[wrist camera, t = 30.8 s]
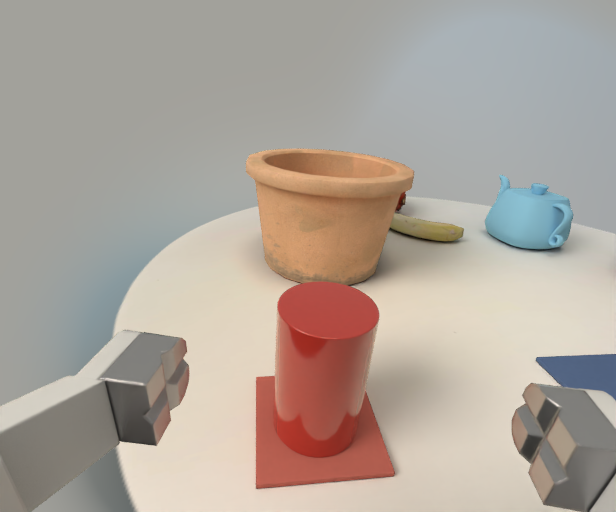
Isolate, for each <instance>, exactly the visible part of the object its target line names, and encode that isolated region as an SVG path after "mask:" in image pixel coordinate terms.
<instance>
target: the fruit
mask: <svg viewBox="0 0 616 512" xmlns="http://www.w3.org/2000/svg"><path fill="white" fill-rule="evenodd" d="M390 228H392V229H394V230H395V231H398V232H401V233H404V234H408V235H411V236H415V237H420V238H425V239H430V240H436V241H454V240H457V239H458V238H461V237H462V236H463V231H464V229H463V228H461V227H458V226H455V225H452V224H447V223H437V222H430V221H425V220H420V219H416V218H412V217H408V216H405V215H401V214H398V213H394V216H393V219H392V222H391V225H390Z"/></svg>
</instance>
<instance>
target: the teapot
mask: <svg viewBox="0 0 616 512" xmlns="http://www.w3.org/2000/svg"><path fill="white" fill-rule="evenodd" d="M500 179H501V188H500V191H499V194H498V197H497V199H496V202H495V204H494V205H493V206H492V208H491V209H490V211H489V213H488V215H487V217H486V220H485V225H486V229H487V232H488V233H489V234H491V235H492V236H494V237H496V238H497V239H499V240H501V241H503V242H505V243H507V244H510V245H513V246H516V247H520V248H529V249H550V248H555V247H560V246H562V245H563V243H564V242H565V241H566V239H567V238H568V236H569V232H570V228H571V221H572V219H573V212H572V210H571V208H570V201H569V199H568V198H566V197H564V196H560V195H558V194H554V193H551V192H548V191H547V189H548V188H549V187H548V186H547V185H544V184H537V183H534V184H532V186H531V188H532V189H529V188H510V183H509V180H508V179H507V178H506V177H505V176H503V175H500Z"/></svg>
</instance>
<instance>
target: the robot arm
mask: <svg viewBox="0 0 616 512" xmlns="http://www.w3.org/2000/svg"><path fill="white" fill-rule="evenodd" d="M186 352H187V347H186V341H185V340H184V339H183V338H178V337H172V336H165V335H159V334H152V333H146V332H144V333H142V332H136V331H130V330H123V331H120V332H118V333H117V334H116V335H115V336H114V337H113V338H112V339H111V340H110V341H109V342H108V343H107V344H106V345H105V346H104V347H103V348H102V349H101V350H100V351H99V352H98V353H97V354H96V355H95V356H94V357H93V359H92V360H90V361H89V362H88V363H87V364H86V366H85V367H83V368H82V370H80V371H79V373H78V374H77V375H76V376H66V377H64V378H62V379H59V380H57V381H55V382H53V383H51V384H48V385H46V386H44V387H42V388H39V389H37V390H35V391H33V392H31V393H28V394H26V395H24V396H22V397H19V398H17V399H15V400H13V401H11V402H8V403H6V404H4V405H2V406H0V512H31V511H32V510H34V509H35V508H36V507H38V506H39V505H40V504H42V503H43V502H44V501H46V500H47V499H48V498H49V497H51V496H52V495H53V494H55V493H56V492H57V491H59V490H60V489H61V488H62V487H64V486H65V485H66V484H68V483H69V482H70V481H71V480H73V479H74V478H75V477H77V476H78V475H79V474H81V473H82V472H83V471H85V470H86V469H87V468H88V467H90V466H91V465H92V464H94V463H95V462H96V461H98V460H99V459H100V458H101V457H103V456H104V455H105V454H107V453H108V452H109V451H110V450H112V449H113V448H115V447H116V446H117V445H118V444H119V443H120V442H119V441H122V442H130V443H139V444H147V445H155V446H157V444H158V442H159V441H160V439H161V437H162V435H163V433H164V432H165V430H166V428H167V426H168V424H169V423H170V421H171V418H170V410H172V409H173V408H175V407H177V406H178V405H180V403H181V401H182V399H183V397H184V395H185V392H186V389H187V386H188V382H189V365H188V364H187V363H186V362H185V361H184V360H183V357H184V356H185V354H186ZM522 396H523V398H524V400H525V402H526V404H524V405H522V406H521V407H519V408H518V409H516V411H515V413H514V416H513V418H512V435H513V440H514V443H515V445H516V448H517V450H518V452H519V454H521V455H522V456H523V457H524V458H525V459H526V460H527V461H528V462H529V463H530V464H531V465H530V469H529V472H528V473H529V475H530V477H531V479H532V482H533V484H534V486H535V488H536V490H537V492H538V494H539V496H540V498H541V500H542V502H543V505H547V506H553V507H558V508H564V509H570V510H575V511H581V512H616V401H615V399H614V398H613V397H612V396H611V395H609V394H607V393H606V392H604V391H598V390H589V389H580V388H579V389H575V388H568V387H560V386H552V385H543V384H535V383H531V384H530V385H528V386H527V387H526V389H525V391H524V393H523V395H522Z"/></svg>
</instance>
